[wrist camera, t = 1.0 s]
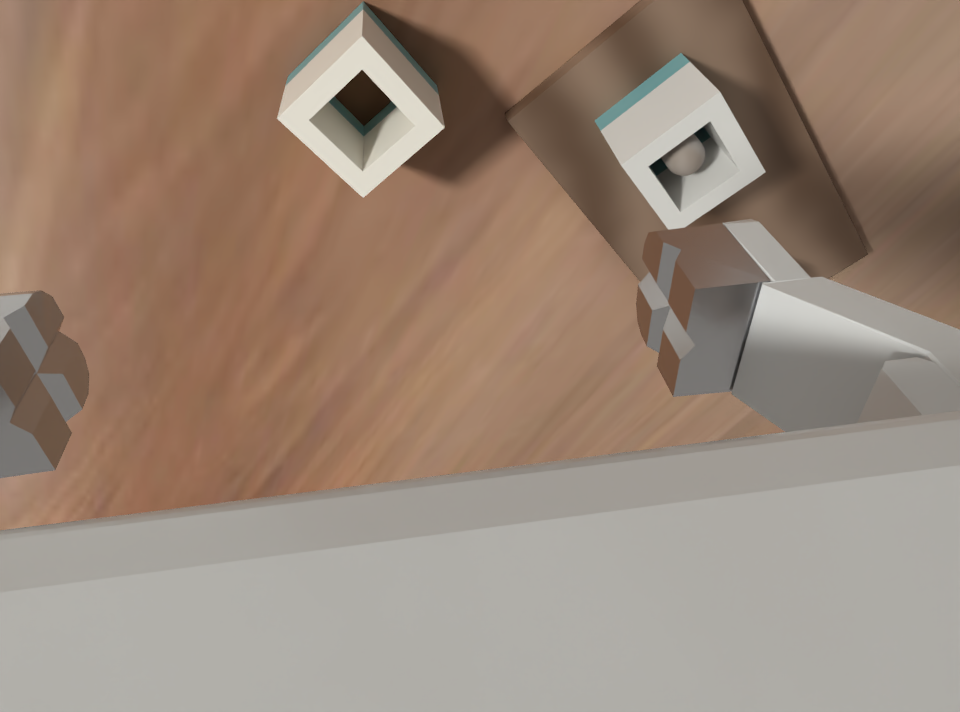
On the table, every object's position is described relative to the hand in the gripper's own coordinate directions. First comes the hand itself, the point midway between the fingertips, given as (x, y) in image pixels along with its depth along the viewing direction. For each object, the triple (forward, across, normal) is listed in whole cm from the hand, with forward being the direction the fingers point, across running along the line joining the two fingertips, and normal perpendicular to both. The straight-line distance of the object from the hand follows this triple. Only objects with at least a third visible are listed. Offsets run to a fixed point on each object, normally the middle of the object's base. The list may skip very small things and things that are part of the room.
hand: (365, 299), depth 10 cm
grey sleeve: (+32, -17, +11) cm, 38 cm away
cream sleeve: (+33, +1, +8) cm, 34 cm away
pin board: (+33, -21, +16) cm, 42 cm away
